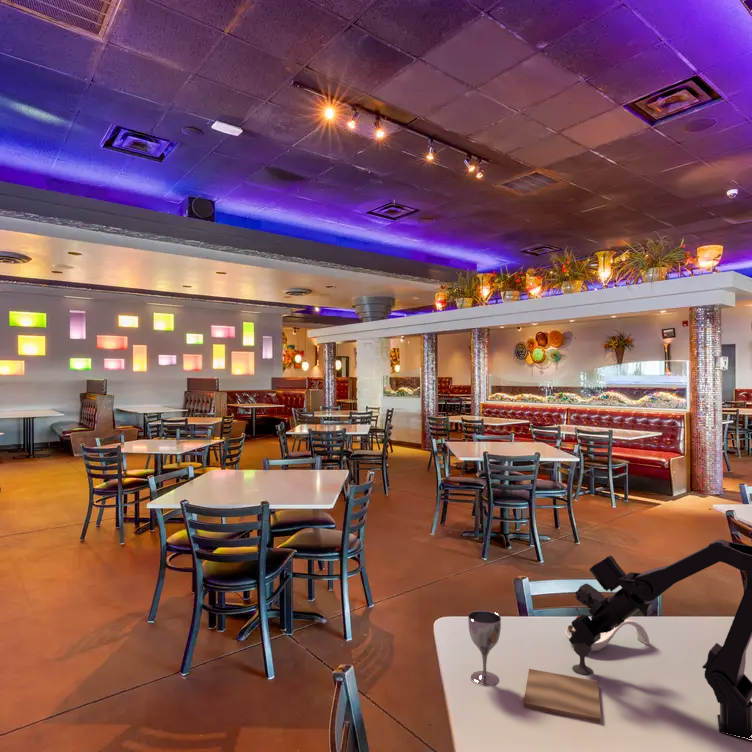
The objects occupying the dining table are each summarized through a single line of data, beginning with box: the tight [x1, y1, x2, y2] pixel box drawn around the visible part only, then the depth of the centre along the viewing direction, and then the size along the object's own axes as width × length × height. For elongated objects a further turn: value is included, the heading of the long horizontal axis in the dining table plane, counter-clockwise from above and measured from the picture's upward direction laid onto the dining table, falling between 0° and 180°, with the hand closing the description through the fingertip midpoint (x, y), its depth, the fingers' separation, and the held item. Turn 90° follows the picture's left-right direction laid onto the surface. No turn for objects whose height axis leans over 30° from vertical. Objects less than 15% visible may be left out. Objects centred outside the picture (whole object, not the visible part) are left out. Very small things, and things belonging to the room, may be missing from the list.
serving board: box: [522, 668, 602, 724], centre depth 122 cm, size 16×16×1 cm
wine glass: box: [467, 609, 502, 687], centre depth 130 cm, size 8×8×15 cm
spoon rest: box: [564, 617, 650, 652], centre depth 148 cm, size 24×12×7 cm, turn 100°
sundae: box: [567, 607, 594, 676], centre depth 134 cm, size 7×7×15 cm
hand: (576, 637), depth 135 cm, fingers closed on sundae, 6 cm apart
